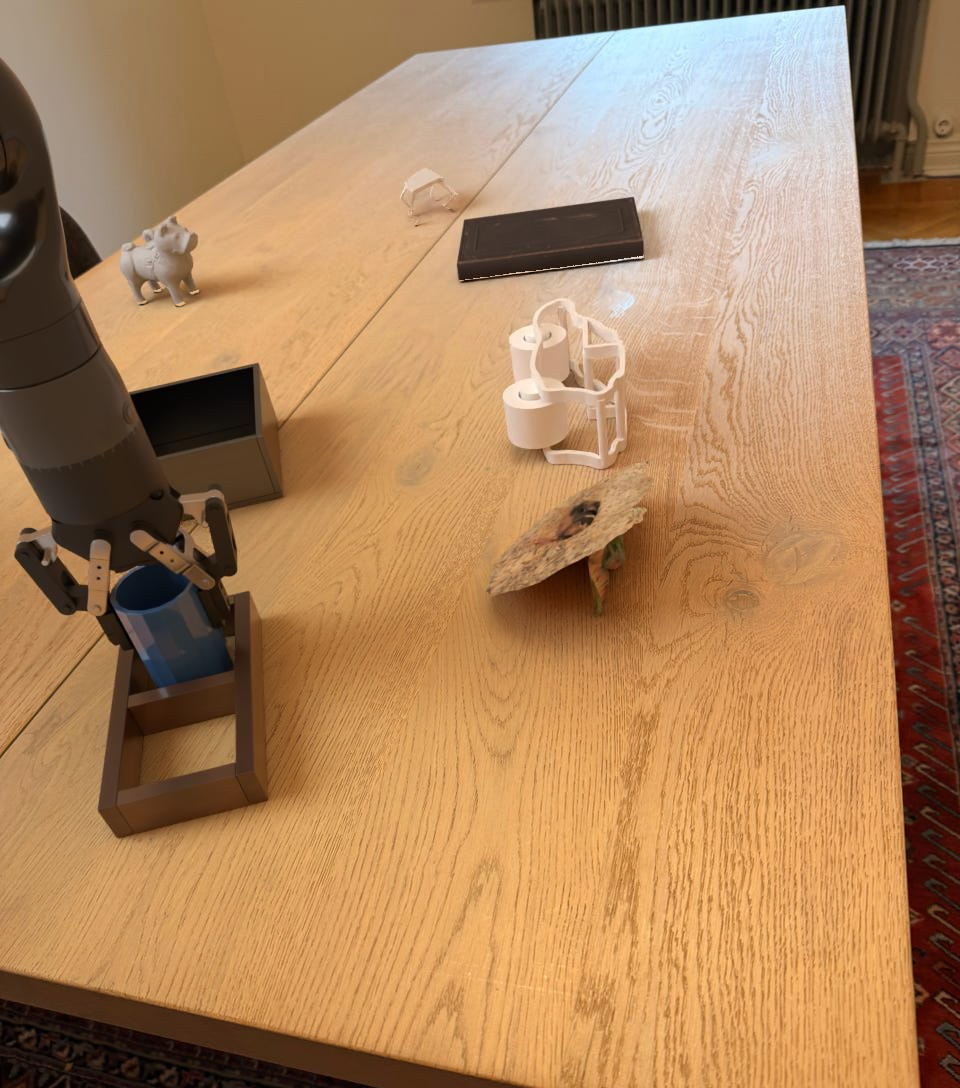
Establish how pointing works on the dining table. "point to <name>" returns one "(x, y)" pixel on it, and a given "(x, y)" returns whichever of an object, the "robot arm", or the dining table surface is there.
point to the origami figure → (422, 182)
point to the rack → (180, 706)
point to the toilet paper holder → (542, 396)
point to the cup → (170, 626)
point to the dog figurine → (160, 260)
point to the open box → (215, 434)
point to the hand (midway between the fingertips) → (175, 631)
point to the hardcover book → (549, 238)
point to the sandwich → (577, 535)
